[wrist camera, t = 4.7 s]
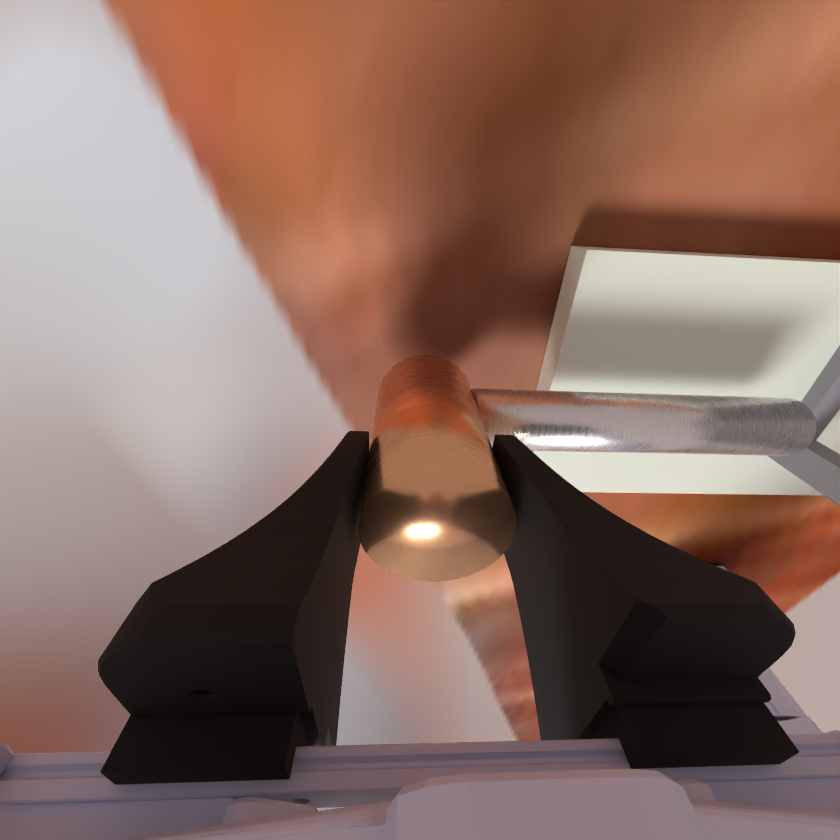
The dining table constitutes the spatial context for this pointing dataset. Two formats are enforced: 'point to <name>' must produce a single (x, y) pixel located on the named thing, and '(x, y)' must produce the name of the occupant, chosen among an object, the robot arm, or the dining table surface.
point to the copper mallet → (540, 431)
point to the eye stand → (700, 359)
